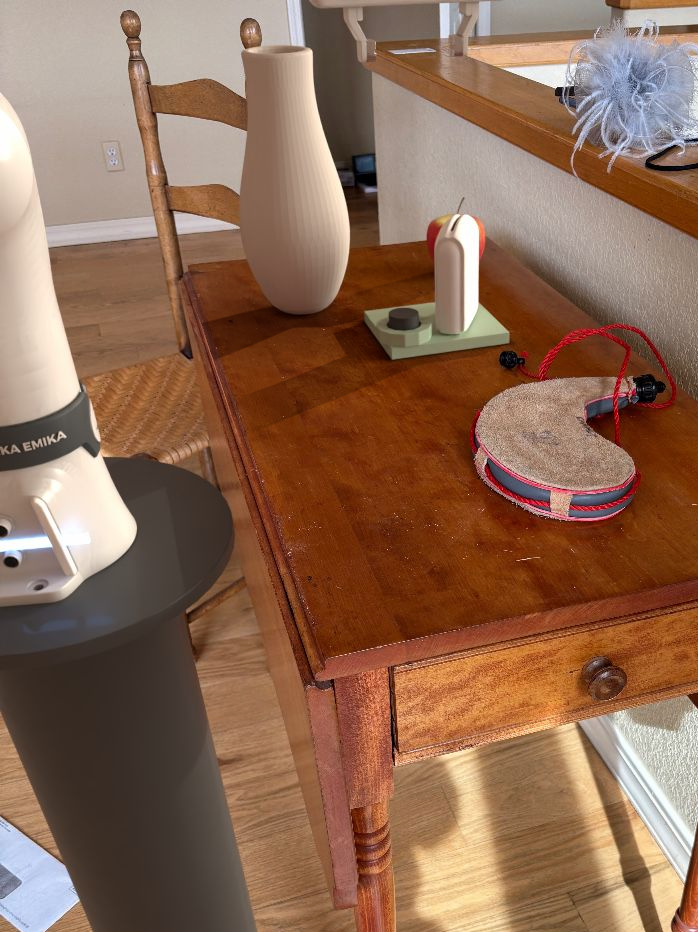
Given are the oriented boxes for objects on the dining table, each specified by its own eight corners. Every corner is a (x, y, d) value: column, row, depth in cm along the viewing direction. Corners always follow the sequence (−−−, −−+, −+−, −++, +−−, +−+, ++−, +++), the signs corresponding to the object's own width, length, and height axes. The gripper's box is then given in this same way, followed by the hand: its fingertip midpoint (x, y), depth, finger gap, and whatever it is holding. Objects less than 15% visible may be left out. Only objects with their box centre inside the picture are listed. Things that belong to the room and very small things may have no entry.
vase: (363, 291, 129) (347, 41, 111) (344, 328, 118) (323, 58, 100) (266, 289, 130) (234, 41, 112) (239, 325, 119) (199, 57, 101)
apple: (496, 270, 136) (498, 198, 130) (458, 285, 131) (458, 211, 125) (454, 259, 140) (453, 188, 134) (415, 273, 135) (413, 200, 129)
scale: (386, 361, 110) (385, 337, 108) (358, 322, 120) (357, 299, 118) (510, 344, 114) (510, 320, 112) (473, 307, 124) (473, 285, 122)
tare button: (393, 334, 110) (393, 319, 109) (385, 323, 113) (384, 309, 112) (422, 330, 111) (422, 316, 110) (414, 320, 113) (413, 305, 112)
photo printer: (448, 305, 121) (447, 205, 113) (481, 307, 120) (482, 206, 112) (431, 334, 113) (429, 229, 105) (466, 337, 112) (466, 231, 105)
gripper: (301, -117, 79) (316, 69, 87) (525, -120, 84) (519, 57, 92) (287, -117, 83) (303, 60, 92) (500, -119, 88) (496, 49, 97)
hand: (413, 58), depth 92 cm, fingers open, 8 cm apart
